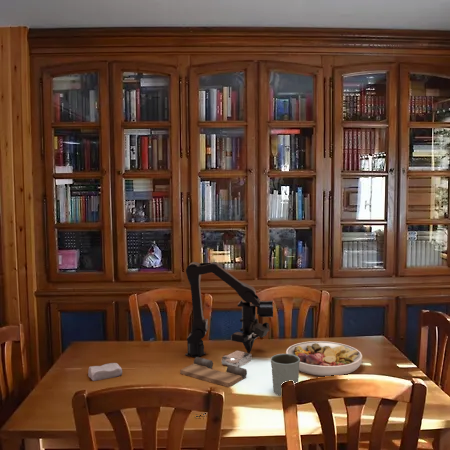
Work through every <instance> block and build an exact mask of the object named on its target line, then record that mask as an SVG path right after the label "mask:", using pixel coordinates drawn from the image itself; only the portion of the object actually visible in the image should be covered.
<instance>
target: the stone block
mask: <svg viewBox="0 0 450 450" xmlns="http://www.w3.org/2000/svg"><path fill="white" fill-rule="evenodd" d="M87 374H88V375H87V377H89V379H91V381H93V382H95V381H96V382H97V381H100V380H102V381H103V380H106V379H111V378H117V377H121V376H122V375H123V369H122V367H121V366H120V365H119V363H117V362H110V363H105V364H102V365H93V366H89V367H88V373H87Z"/></svg>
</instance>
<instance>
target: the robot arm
mask: <svg viewBox="0 0 450 450" xmlns="http://www.w3.org/2000/svg"><path fill="white" fill-rule="evenodd" d="M185 273H186V278H187V280H188V283H189V286H190V294H191V303H192V304H191V305H192V316H193V317H192V318H193V320H192V327H191V332H189V334H188V336H187V338H186V341H187V353H184V355H185V356H187V357H190V358H191V357H192V358H194V359H195V358H196V357H199V358H201V357H202V356H205V355H206V354H207V353H206V352H205V344H204V340H203V339H204V337H205V336H206V334H207V332H208V330H209V329H210V327H209V319H208V318H205V316H204V311H203V301H202V291H201V279H202V275H206V274H211V273H212V274H214V275H215V276H216V277H218V278H219V279H220V280H221V281H223V282H224V283H226V284H227V285H228V286H229V287H231V288H232V289H233V290H234V291H235V292H236V294H237V295H238V296H239V297H240V298H241V300H240V301H239V302H238V303H237V307H238V308H239V307H240V308H241V318H239V322H241V328H240V329H239V331H236V332H234V333H232V334H231V335H230V340H231V341H232V342H236V343H241V344H243V346H244V348H245V350H246V353H250V354H251V352H252V349H253V345H254V343H255V341H256V339H258V338H263V337H266V336H267V334H268V332H270V324H269V323H270V322H269V323H268V322H267V321H266V322H264V323H260V322H259V319H258V318H256V315H258V316H259V317H260V318H274V307H273V304H274V303H273V302H274V301H273V300H261V298H260V297H259V296H258V295H257V294H256V293H257V292H256V288H255V287H254V286H252V285H250V284H248V283H246V282H243V281H241V280H240V279H238V278H237V277H235V276H234V275H233V274H231V273H230V272H229V271H228V270H226V269H225V268H224V267H223V266H221V265H219V263H218V262H216V261H212V262H200V263H199V262H198V261H192V262H191V263H189V264H188V265H187V266H186V268H185Z"/></svg>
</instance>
